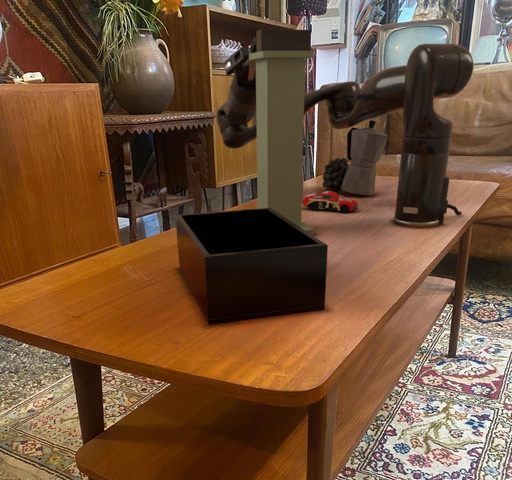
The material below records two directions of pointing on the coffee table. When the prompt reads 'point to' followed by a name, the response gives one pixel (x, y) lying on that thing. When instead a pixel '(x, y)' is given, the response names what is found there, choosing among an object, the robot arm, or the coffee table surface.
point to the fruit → (335, 174)
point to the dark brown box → (283, 40)
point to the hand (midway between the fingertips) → (267, 38)
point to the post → (280, 131)
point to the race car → (329, 202)
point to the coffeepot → (363, 159)
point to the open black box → (250, 264)
